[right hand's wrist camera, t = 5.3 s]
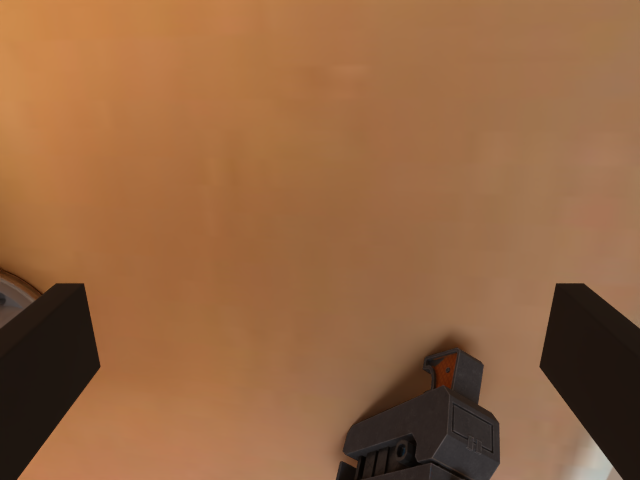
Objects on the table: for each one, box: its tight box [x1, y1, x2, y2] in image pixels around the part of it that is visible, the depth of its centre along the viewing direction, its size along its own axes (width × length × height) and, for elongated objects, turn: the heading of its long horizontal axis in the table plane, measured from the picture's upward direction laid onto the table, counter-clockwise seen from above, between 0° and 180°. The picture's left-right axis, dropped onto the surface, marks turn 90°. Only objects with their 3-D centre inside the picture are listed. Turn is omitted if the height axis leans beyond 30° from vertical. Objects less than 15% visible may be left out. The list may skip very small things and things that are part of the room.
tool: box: [336, 348, 500, 480], centre depth 44 cm, size 6×19×15 cm, turn 147°
